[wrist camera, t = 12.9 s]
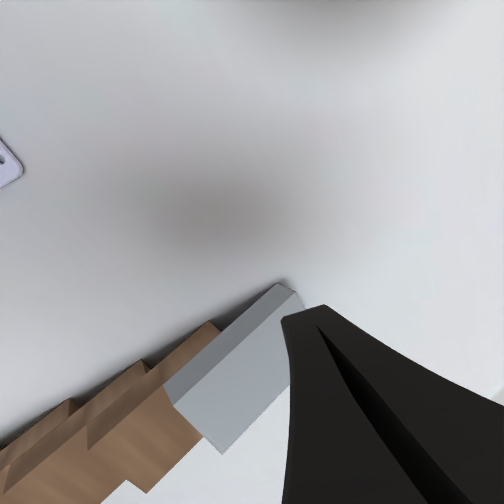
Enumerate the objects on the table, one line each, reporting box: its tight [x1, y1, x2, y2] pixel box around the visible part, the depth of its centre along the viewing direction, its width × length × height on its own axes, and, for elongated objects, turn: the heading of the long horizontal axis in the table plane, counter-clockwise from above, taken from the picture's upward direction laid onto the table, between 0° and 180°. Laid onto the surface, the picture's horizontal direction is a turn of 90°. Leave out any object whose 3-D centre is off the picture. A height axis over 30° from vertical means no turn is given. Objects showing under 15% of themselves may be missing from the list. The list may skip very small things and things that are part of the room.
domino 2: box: [3, 359, 151, 504], centre depth 20 cm, size 2×5×9 cm
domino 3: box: [86, 320, 221, 493], centre depth 19 cm, size 2×5×9 cm
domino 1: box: [0, 398, 81, 504], centre depth 20 cm, size 2×5×9 cm
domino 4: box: [163, 283, 306, 455], centre depth 19 cm, size 2×5×9 cm
